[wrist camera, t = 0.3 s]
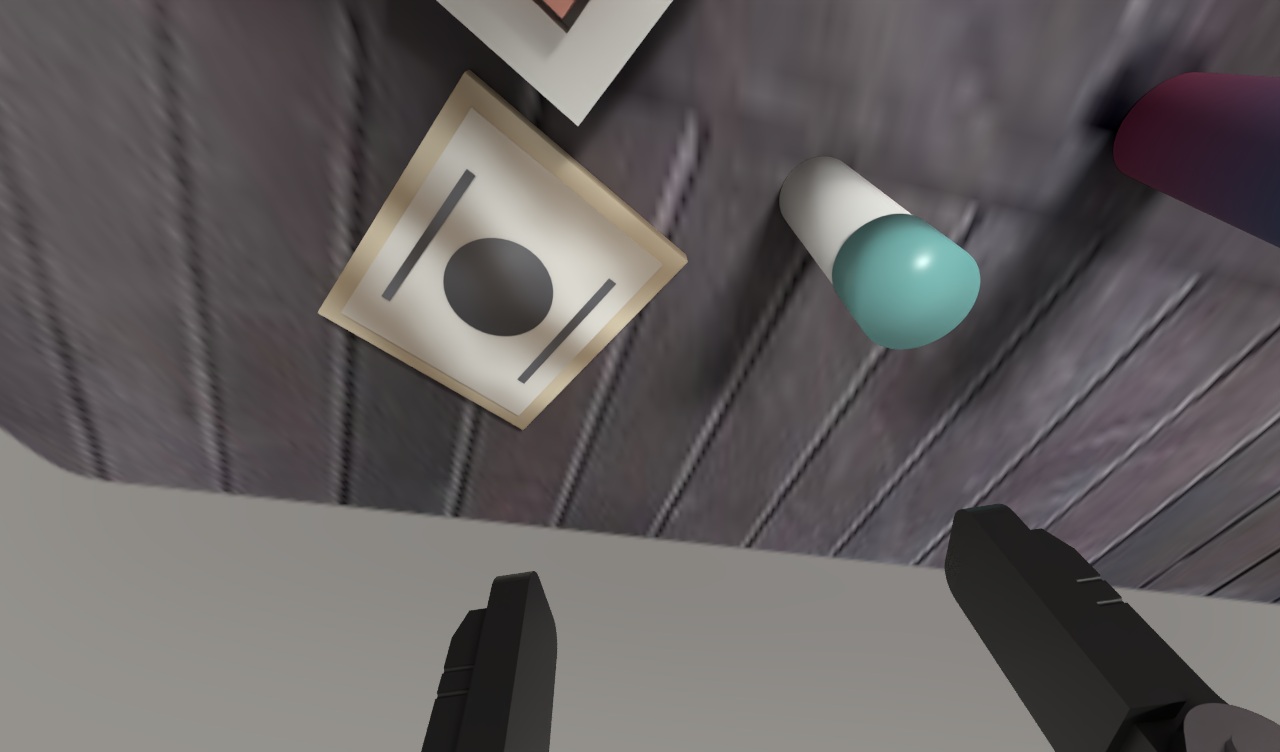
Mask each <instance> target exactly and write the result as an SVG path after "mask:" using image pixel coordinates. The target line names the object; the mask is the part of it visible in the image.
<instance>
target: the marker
mask: <svg viewBox="0 0 1280 752" xmlns="http://www.w3.org/2000/svg"><path fill="white" fill-rule="evenodd" d="M779 206H780V211H781V214H782V216H783V218H784V219H785V221H786V222H787V223H788V225H789V226H790V227H791V229H792V230H793V231H794V233H795V234H796V235H797V237H798V238H799V240H800V241H801V242H802V244H803V245H804V246H805V248H806V249H807V250H808V252H809V253H810V254H811V256H812V257H813V258H814V260H815V261H816V263H817V264H818V265H819V267H820V268H821V269H822V271H823V272H824V273H825V275H826V276H827V277H828V279H829V280H830V282H831V283H832V284H833V287H834V289H835V292H836V293H837V295H838V297H839V298H840V299H841V301H842V302H843V304H844V305H845V306H846V308H847V309H848V310H849V312H850V313H851V315H852V316H853V317H854V319H855V320H856V321H857V323H858V324H859V326H860V327H861V328H862V330H863V331H864V332H865V334H866V335H867V336H868V337H869V338H870V339H871V340H872V341H873V342H875V343H877V344H878V345H881V346H883V347H886V348H891V349H911V348H916V347H921V346H924V345H927V344H929V343H931V342H934V341H936V340H938V339H940V338H941V337H943V336H945V335H946V334H948V333H949V332H950V331H952V330H953V329H954V328H955V327H956V326H957V325H958V324H959V323H961V322H962V320H963V319H964V318H965V317H966V316H967V314H968V313H969V311H970V310H971V308H972V307H973V305H974V303H975V301H976V298H977V296H978V292H979V288H980V273H979V269H978V266H977V264H976V262H975V261H974V259H973V258H972V257H971V256H970V255H969V254H968V253H967V252H966V251H964V250H963V249H962V248H960V247H959V246H958V245H956V244H955V243H954V242H952V241H951V240H950V239H948V238H947V237H946V236H944V235H943V234H942V233H940V232H939V231H938V230H936V229H935V228H934V227H932V226H931V225H930V224H928V223H927V222H926V221H924V220H923V219H921V218H919V217H917V216H914V215H912V214H910V213H909V212H908V211H906V210H905V209H904V208H902V207H901V206H900V205H898V204H897V203H896V202H895V201H893V200H892V199H891V198H889V197H888V196H887V195H885V194H884V193H883V192H881V191H880V190H879V189H877V188H876V187H875V186H873V185H872V184H871V183H870V182H868V181H867V180H866V179H864V178H863V177H862V176H860V175H859V174H858V173H856V172H855V171H854V170H852V169H851V168H850V167H849V166H847V165H846V164H845V163H843V162H842V161H840V160H838V159H836V158H833V157H828V156H820V157H814V158H811V159H809V160H806V161H804V162H803V163H801V164H800V165H798V166H797V167H796V168H795V169H793V170H792V172H791V173H790V174H789V175H788V177H787V178H786V180H785V181H784V183H783V185H782V188H781V191H780V196H779Z"/></svg>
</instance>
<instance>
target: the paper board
mask: <svg viewBox="0 0 1280 752" xmlns="http://www.w3.org/2000/svg"><path fill="white" fill-rule="evenodd" d="M687 262H688V261H687V257H686V254H685V253H683V252H682V251H681V250H680V249H679V248H678V247H676V246H675V245H674V244H673V243H672V242H671V241H669V240H668V239H667V238H666V237H665V236H664V235H662V234H661V233H660V232H659V231H658V230H656V229H655V228H654V227H653V226H652V225H651V224H649V223H648V222H647V221H646V220H645V219H644V218H642V217H641V216H640V215H639V214H638V213H637V212H635V211H634V210H633V209H632V208H631V207H630V206H628V205H627V204H626V203H625V202H624V201H623V200H621V199H620V198H619V197H618V196H617V195H616V194H614V193H613V192H612V191H611V190H610V189H609V188H607V187H606V186H605V185H604V184H603V183H602V182H600V181H599V180H598V179H597V178H596V177H595V176H593V175H592V174H591V173H590V172H589V171H588V170H586V169H585V168H584V167H583V166H582V165H581V164H579V163H578V162H577V161H576V160H575V159H574V158H572V157H571V156H570V155H569V154H568V153H567V152H565V151H564V150H563V149H562V148H561V147H560V146H558V145H557V144H556V143H555V142H554V141H553V140H551V139H550V138H549V137H548V136H547V135H546V134H544V133H543V132H542V131H541V130H540V129H539V128H537V127H536V126H535V125H534V124H533V123H531V122H530V121H529V120H528V119H527V118H526V117H524V116H523V115H522V114H521V113H520V112H519V111H517V110H516V109H515V108H514V107H513V106H512V105H510V104H509V103H508V102H507V101H506V100H505V99H503V98H502V97H501V96H500V95H499V94H498V93H496V92H495V91H494V90H493V89H492V88H491V87H489V86H488V85H487V84H486V83H485V82H484V81H482V80H481V79H480V78H479V77H478V76H477V75H475V74H474V73H473V72H472V71H471V70H470V69H469V70H467V71H466V72H464V74H463V75H462V77H461V79H460V80H459V82H458V84H457V85H456V87H455V89H454V90H453V92H452V93H451V95H450V97H449V98H448V100H447V102H446V103H445V105H444V107H443V108H442V110H441V111H440V113H439V115H438V116H437V118H436V120H435V121H434V123H433V125H432V126H431V128H430V129H429V131H428V133H427V134H426V136H425V138H424V139H423V141H422V143H421V144H420V146H419V147H418V149H417V151H416V152H415V154H414V156H413V157H412V159H411V161H410V162H409V164H408V165H407V167H406V169H405V170H404V172H403V174H402V175H401V177H400V179H399V180H398V182H397V183H396V185H395V187H394V188H393V190H392V192H391V193H390V195H389V197H388V198H387V200H386V201H385V203H384V205H383V206H382V208H381V210H380V211H379V213H378V215H377V216H376V218H375V219H374V221H373V223H372V224H371V226H370V228H369V229H368V231H367V233H366V234H365V236H364V237H363V239H362V241H361V242H360V244H359V246H358V247H357V249H356V251H355V252H354V254H353V255H352V257H351V259H350V260H349V262H348V264H347V265H346V267H345V269H344V270H343V272H342V273H341V275H340V277H339V278H338V280H337V282H336V283H335V285H334V287H333V288H332V290H331V291H330V293H329V295H328V296H327V298H326V300H325V301H324V303H323V305H322V306H321V308H320V309H319V311H318V313H319V314H320V315H322V316H324V317H326V318H327V319H329V320H331V321H333V322H334V323H336V324H338V325H340V326H341V327H343V328H345V329H347V330H348V331H350V332H352V333H354V334H355V335H357V336H359V337H361V338H362V339H364V340H366V341H368V342H369V343H371V344H373V345H375V346H376V347H378V348H380V349H382V350H383V351H385V352H387V353H389V354H390V355H392V356H394V357H396V358H397V359H399V360H401V361H403V362H404V363H406V364H408V365H410V366H411V367H413V368H415V369H417V370H419V371H420V372H422V373H424V374H426V375H427V376H429V377H431V378H433V379H434V380H436V381H438V382H440V383H441V384H443V385H445V386H447V387H448V388H450V389H452V390H454V391H455V392H457V393H459V394H461V395H462V396H464V397H466V398H468V399H469V400H471V401H473V402H475V403H476V404H478V405H480V406H482V407H483V408H485V409H487V410H489V411H490V412H492V413H494V414H496V415H497V416H499V417H501V418H503V419H504V420H506V421H508V422H510V423H512V424H513V425H515V426H517V427H519V428H520V429H522V430H524V429H525V428H526V427H527V426H528V425H529V424H530V422H531V421H532V420H533V419H534V418H535V417H536V416H537V415H538V414H539V413H540V412H541V411H542V410H543V409H544V408H545V407H546V406H547V405H548V404H549V403H550V402H551V401H552V400H553V399H554V398H555V397H556V396H557V395H558V394H559V393H560V392H561V391H562V390H563V389H564V388H565V387H566V386H567V385H568V384H569V383H570V382H571V381H572V380H573V379H574V378H575V377H576V376H577V375H578V374H579V372H580V371H581V370H582V369H583V368H584V367H585V366H586V365H587V364H588V363H589V362H590V361H591V360H592V359H593V358H594V357H595V356H596V355H597V354H598V353H599V352H600V351H601V350H602V349H603V348H604V347H605V346H606V345H607V344H608V343H609V342H610V341H611V340H612V339H613V338H614V337H615V336H616V335H617V334H618V333H619V332H620V331H621V330H622V329H623V328H624V327H625V326H626V325H627V324H628V322H629V321H630V320H631V319H632V318H633V317H634V316H635V315H636V314H637V313H638V312H639V311H640V310H641V309H642V308H643V307H644V306H645V305H646V304H647V303H648V302H649V301H650V300H651V299H652V298H653V297H654V296H655V295H656V294H657V293H658V292H659V291H660V290H661V289H662V288H663V287H664V286H665V285H666V284H667V283H668V282H669V281H670V280H671V279H672V278H673V277H674V276H675V275H676V274H677V272H678V271H679V270H680V269H681V268H682V267H683V266H684V265H685V264H686V263H687Z"/></svg>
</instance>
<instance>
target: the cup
mask: <svg viewBox="0 0 1280 752" xmlns="http://www.w3.org/2000/svg"><path fill="white" fill-rule="evenodd" d="M1113 157H1114V162H1115V164H1116V166H1117V168H1118V169H1119V170H1120V171H1121V172H1122V173H1123V174H1125V175H1127V176H1129V177H1131V178H1133V179H1135V180H1137V181H1139V182H1141V183H1144V184H1146V185H1148V186H1150V187H1152V188H1154V189H1156V190H1158V191H1160V192H1163V193H1165V194H1167V195H1169V196H1171V197H1173V198H1175V199H1177V200H1180V201H1182V202H1184V203H1186V204H1188V205H1190V206H1192V207H1194V208H1196V209H1199V210H1201V211H1203V212H1205V213H1207V214H1209V215H1211V216H1213V217H1216V218H1218V219H1220V220H1222V221H1224V222H1226V223H1228V224H1230V225H1232V226H1235V227H1237V228H1239V229H1241V230H1243V231H1245V232H1247V233H1249V234H1252V235H1254V236H1256V237H1258V238H1260V239H1262V240H1264V241H1266V242H1268V243H1271V244H1273V245H1275V246H1277V247H1279V248H1280V77H1266V76H1250V75H1234V74H1218V73H1202V72H1191V73H1186V74H1181V75H1179V76H1176V77H1173V78H1171V79H1169V80H1167V81H1165V82H1163V83H1161V84H1159V85H1158V86H1156V87H1155V88H1154V89H1152V90H1151V91H1150V92H1148V93H1147V94H1146V95H1145V96H1144V97H1143V98H1142V99H1140V100H1139V101H1138V102H1137V103H1136V105H1135V106H1134V107H1133V108H1132V109H1131V110H1130V112H1129V113H1128V114H1127V116H1126V117H1125V119H1124V120H1123V122H1122V124H1121V126H1120V128H1119V130H1118V132H1117V135H1116V138H1115V141H1114V147H1113Z"/></svg>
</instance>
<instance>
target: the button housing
mask: <svg viewBox="0 0 1280 752" xmlns="http://www.w3.org/2000/svg"><path fill="white" fill-rule="evenodd" d="M436 1H438V2H439V3H440V4H441V5H442V6H443V7H444V8H445V9H447V10H448V11H449V12H450V13H451V14H452V15H453V16H454V17H456V18H457V19H458V20H459V21H460V22H461V23H462V24H463V25H465V26H466V27H467V28H468V29H469V30H470V31H471V32H472V33H474V34H475V35H476V36H477V37H478V38H479V39H480V40H481V41H483V42H484V43H485V44H486V45H487V46H488V47H489V48H490V49H492V50H493V51H494V52H495V53H496V54H497V55H498V56H499V57H501V58H502V59H503V60H504V61H505V62H506V63H507V64H508V65H509V66H511V67H512V68H513V69H514V70H515V71H516V72H517V73H518V74H520V75H521V76H522V77H523V78H524V79H525V80H526V81H527V82H529V83H530V84H531V85H532V86H533V87H534V88H535V89H536V90H538V91H539V92H540V93H541V94H542V95H543V96H544V97H545V98H547V99H548V100H549V101H550V102H551V103H552V104H553V105H554V106H556V107H557V108H558V109H559V110H560V111H561V112H562V113H563V114H565V115H566V116H567V117H568V118H569V119H570V120H571V121H572V122H574V123H575V124H576V125H577V126H579V125H580V123H581V122H582V121H583V119H584V118H585V117H586V115H587V114H588V113H589V111H590V110H591V109H592V107H593V106H594V105H595V103H596V102H597V101H598V99H599V98H600V97H601V95H602V94H603V93H604V91H605V90H606V89H607V87H608V86H609V85H610V83H611V82H612V81H613V79H614V78H615V77H616V75H617V74H618V73H619V71H620V70H621V69H622V67H623V66H624V65H625V63H626V62H627V61H628V59H629V58H630V57H631V55H632V54H633V53H634V51H635V50H636V49H637V47H638V46H639V45H640V43H641V42H642V41H643V39H644V38H645V37H646V35H647V34H648V33H649V31H650V30H651V29H652V27H653V26H654V25H655V23H656V22H657V21H658V19H659V18H660V17H661V15H662V14H663V13H664V11H665V10H666V9H667V7H668V6H669V5H670V3H671V2H672V1H673V0H577V1H576V3H575V4H574V6H573V7H572V9H571V10H570V12H569V13H568V15H567V16H565V17H564V18H561V17H560V16H559V15H558V14H557V13H556V12H555V11H554V10H553V9H552V8H551V7H550V6H549V5H548V4H547V3H545V2H544V1H543V0H436Z"/></svg>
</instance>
